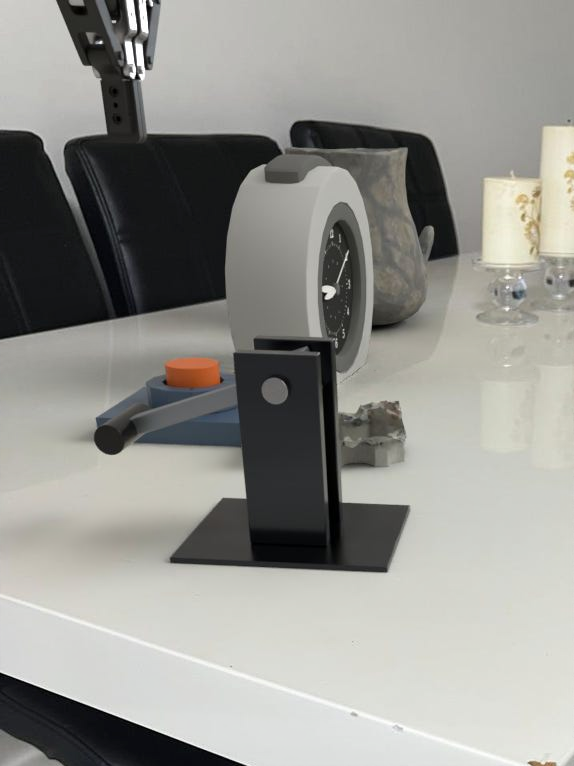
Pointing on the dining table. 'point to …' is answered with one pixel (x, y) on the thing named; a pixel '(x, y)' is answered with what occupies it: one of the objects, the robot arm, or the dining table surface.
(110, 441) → the grey crank handle
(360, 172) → the vessel
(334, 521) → the black lever stand
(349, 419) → the egg carton
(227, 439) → the control block
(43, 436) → the dining table surface
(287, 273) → the alarm clock
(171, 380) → the button
